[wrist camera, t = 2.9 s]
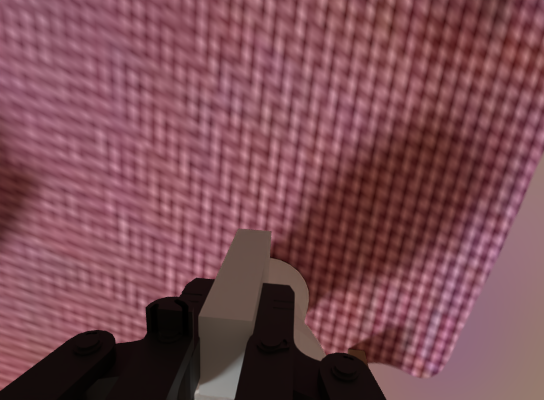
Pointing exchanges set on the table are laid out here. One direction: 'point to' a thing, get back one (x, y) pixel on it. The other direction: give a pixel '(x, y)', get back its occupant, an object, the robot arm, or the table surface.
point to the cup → (302, 332)
